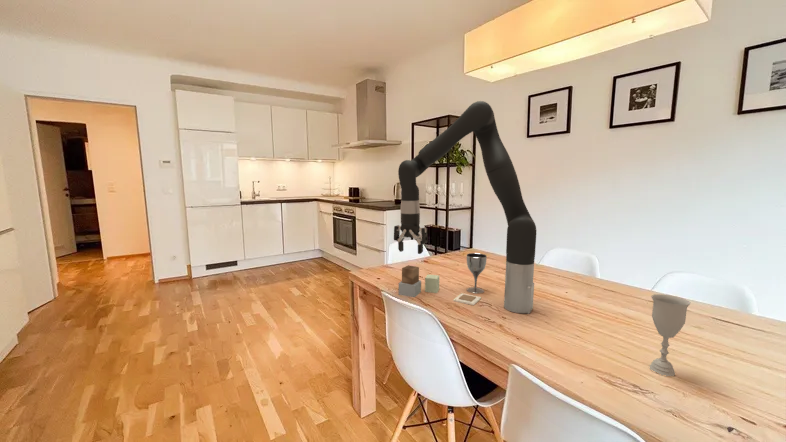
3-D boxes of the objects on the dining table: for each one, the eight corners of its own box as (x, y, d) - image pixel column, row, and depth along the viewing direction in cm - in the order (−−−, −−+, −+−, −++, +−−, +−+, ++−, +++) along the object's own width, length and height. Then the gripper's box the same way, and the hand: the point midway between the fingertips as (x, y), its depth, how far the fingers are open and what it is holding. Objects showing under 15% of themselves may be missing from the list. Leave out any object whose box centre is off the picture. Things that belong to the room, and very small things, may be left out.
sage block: (439, 289, 136) (439, 275, 135) (437, 293, 131) (437, 279, 130) (427, 288, 137) (427, 274, 136) (424, 291, 132) (425, 277, 132)
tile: (480, 298, 125) (481, 296, 125) (473, 305, 118) (473, 303, 118) (461, 294, 129) (461, 292, 129) (453, 300, 122) (453, 298, 122)
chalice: (664, 362, 82) (672, 294, 79) (690, 378, 75) (699, 304, 73) (636, 362, 81) (643, 294, 79) (659, 379, 75) (668, 305, 72)
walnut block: (418, 281, 131) (418, 267, 130) (412, 284, 126) (412, 270, 126) (408, 279, 133) (408, 265, 133) (401, 282, 129) (401, 268, 128)
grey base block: (421, 292, 132) (421, 280, 132) (414, 297, 126) (414, 285, 125) (405, 289, 135) (405, 278, 135) (398, 295, 129) (398, 283, 128)
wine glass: (483, 287, 138) (484, 253, 136) (486, 294, 130) (488, 257, 128) (464, 286, 138) (465, 252, 136) (466, 293, 131) (468, 257, 129)
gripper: (430, 211, 126) (430, 252, 128) (399, 210, 133) (400, 248, 135) (421, 213, 119) (421, 256, 121) (389, 212, 127) (390, 252, 129)
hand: (410, 252), depth 128 cm, fingers open, 8 cm apart
